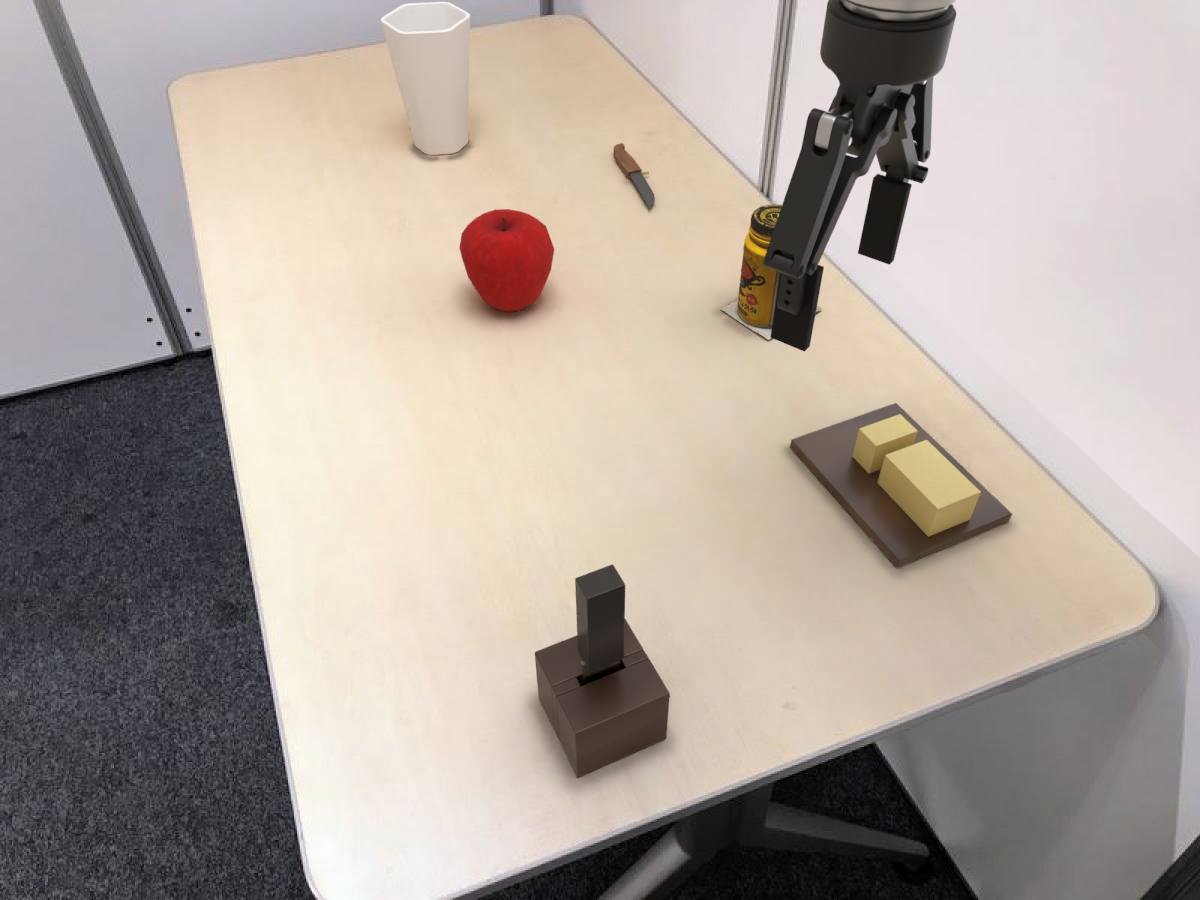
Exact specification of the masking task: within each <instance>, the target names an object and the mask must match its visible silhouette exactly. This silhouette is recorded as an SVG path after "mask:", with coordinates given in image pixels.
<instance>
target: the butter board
mask: <svg viewBox="0 0 1200 900" xmlns="http://www.w3.org/2000/svg"><path fill="white" fill-rule="evenodd" d="M899 414H901V415H902V416H903V417H904V418H905V419H906V420H907V421H908V422H909V423H910V424H911V425H912V426H913V427H914V428H915V429H916V430H917V431H918V432H917V435H916V438H915V441H914V444H916V443H919V442H922V441H924V440H928V441H929V442H930V443H931V444H932V445H933V446H934V447H935V448H936V449H937V450H938V451H939V452H940V453H941V454H942V455H943V456H944V457H945V458H946V459H947V460H948V461H949V462H950V463H951V464H952V465H954V466H955V467H956V468H957V469H958V470H959V471H960V472H961V473H962V474H963V475H964V476H965V477H966V478H967V479H968V480H969V481H970V482H971V483H972V484H973V485H974V486H975V487H976V488H977V489H978V490H979V491H981V493H980V496H979V498H978V501H977V503H976V506H975V508H974V511H973V514H972V516H971V519H970V520H968V521H966V522H963V523H961V524H958V525H956V526H954V527H951V528H949V529H946V530H944V531H941V532H939V533H936V534H934V535H932V536H929V537H928V536H927V535H926V534H925V533H924V532H923V531H922V530H921V529H920V528H919V527H918V526H917V524H916V523H915V522H914V521H913V520H912V519H911V518H910V517H909V516H908V515H907V514H906V513H905V512H904V511H903V510H902V509H901V507H900V506H899V505H898V504H897V503H896V502H895V501H894V500H893V499H892V498H891V497H890V496H889V495H888V494H887V493H886V492H885V490H884V489H883V488H882V487H881V486H880V485H879V484H878V483H877V482H878V479H879V475H880V472H881V470H878V471H875V472H873V473H870V474H868V473H867V471H866V470H865V469H864V468H863V467H862V466H861V465H860V464H859V463H858V462H857V461H856V460H855V459H854V458H853V452H854V448H855V444H856V440H857V436H858V432H859V429H860V428H862V427H865V426H868V425H871V424H874V423H876V422H879V421H882V420H885V419H888V418H890V417H893V416H896V415H899ZM789 447H790V449H791V450H792V451H793V452H794V453H795V454H796V456H797V457H798V458H799V459H800V460H801V461H802V462H803V463H804V465H805V466H806V467H807V468H808V469H809V470H810V471H811V473H813V475H814V476H815V477H816V478H817V479H818V481H820V483H821V484H822V485H823V486H824V487H825V489H826V490H828V492H829V493H830V494H831V495H832V496H833V497H834V499H835V500H836V501H837V502H838V503H839V504H840V505H841V506H842V508H843V509H844V511H846V512H847V513H848V514H849V516H850V517H851V518H852V519H853V520H854V521H855V523H856V524H858V526H859V527H860V528H861V529H862V530H863V531H864V532H865V534H866V535H867V536H868V537H869V538H870V539H871V540H872V541H873V543H874V544H875V545H876V546H877V548H879V549H880V550H881V552H882V553H883V554H884V555H885V556H886V557H887V558H888V560H889V561H890V562H891V563H892V564H893V565H894V567H895V568H900V567H902V566H905V565H907V564H910V563H913V562H915V561H917V560H919V559H922V558H924V557H927V556H929V555H931V554H933V553H936V552H938V551H941V550H943V549H945V548H948V547H951V546H952V545H955V544H957V543H960V542H963V541H965V540H967V539H970V538H973V537H975V536H977V535H979V534H981V533H985V532H987V531H989V530H991V529H994V528H996V527H998V526H1001V525H1004V524H1006V523H1008V522H1010V520H1011V517H1012V516H1013V513H1012V511H1010V510H1009V509H1008V508H1007V507H1006V506H1005V505H1004V504H1003V503H1002V502H1001V501H999V500H998V498H997V497H995V496H994V495H993V494H992V493H991V492H990V491H989V490H988V489H987V488H986V487H985V486H984V485H983V484H982V483H981V482H980V481H978V479H976V478H975V477H974V476H973V475H972V474H971V472H969V471H968V470H967V469H966V468H965V467H964V466H963V465H962V464H961V463H960V462H959V461H958V460H956V459H955V457H953V456H952V455H951V453H949V452H948V450H946V449H945V448H944V447H943V446H942V445H941V444H940V443H938V441H936V440H935V439H934V437H932V436H931V435H930V433H928V432H927V430H925V429H924V427H922V426H921V425H920V424H919V423H918V422H917V421H916V420H915V419H914V418H913V417H912V416H911V415H910V414H908V413H907V412H906V411H905V410H904V409H903V408H902V407H901V406H900V405H899V404H898V403H897V402H894V403H891V404H889V405H886V406H883V407H880V408H877V409H874V410H872V411H869V412H866V413H863V414H860V415H857V416H854V417H852V418H849V419H846V420H843V421H840V422H838V423H835V424H832V425H829V426H827V427H826V426H825V427H823V428H821V429H818V430H815V431H812V432H809V433H805V434H804V435H801V436H799V437H798V436H797V437H795V438H793V439H792V438H791V440H790V446H789Z"/></svg>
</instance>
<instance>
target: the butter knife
mask: <svg viewBox="0 0 1200 900" xmlns="http://www.w3.org/2000/svg"><path fill="white" fill-rule="evenodd" d="M574 583H575V584H574V585H575V609H576V612H575V613H576V636H577V641H578V654H579V655H580V657H581V659H582V661H581V674H582V686H583V685H586V684H588V683H591V682H593V681H596V680H598V679H600V678H603V677H605V676H608V675H610V674H613V673H615V672H617V671H620V660H621V659H624V626H625V619H626V583H625V582H624V580H623V579H622V577H621V575H620V573H619V572H618V570H617V568H616V567H615V566H614V563H613V564H610V565H607V566H604V567H601V568H599V569H596V570H594V571H591V572H588V573H586V574H583V575H580V576H578V577H575V578H574Z"/></svg>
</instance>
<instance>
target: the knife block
mask: <svg viewBox="0 0 1200 900" xmlns="http://www.w3.org/2000/svg"><path fill="white" fill-rule="evenodd" d="M534 660H535V671H536V672H535V673H536V683H537V693H538V700H539V702H540V704H541V706H542V708H543V710H544V712H545V714H546V716H547V719H548V720H549V723H550V724H551V727H552V728H553V731H554V733H555V735H556V737H557V739H558V741H559V744H560V745H561V748H562V750H563V752H564V754H565V755H566V758H567V760H568V762H569V764H570V766H571V768H572V770H573V772H574V775H575V777H576V778H580V777H583V776H585V775H587V774H589V773H592V772H593V771H596V770H598V769H600V768H602V767H603V768H604V767H606V766H607V765H610V764H612V763H614V762H616V761H619V760H621V759H623V758H625V757H628V756H630V755H632V754H634V753H636V752H639V751H641V750H645V749H646V748H648V747H650V746H653V745H655V744H657V743H659V742H662V741H664V740H666V739H667V734H668V720H669V710H670V709H669V708H670V697H671V693H670V691H669V689H668V688H667V686H666V684H665V683H664V681H663V679H662V677H661V676H660V673H659V672H658V671H657V669H656V668H655V665H654V664H653V663H652V661H651V659H650V658H649V656H648V654H647V653H646V651H645V650H644V648H643V646H642V644H641V643H640V641H639V639H638V638H637V635H636V634H635V633H634V631H633V629H632V627H631V625H630V624H629V622H628V620H627V619H626V618H625V626H624V659H621V660H620V671H617V672H615V673H613V674H610V675H608V676H605V677H603V678H600V679H598V680H596V681H593V682H591V683H588V684H586V685H583V686H582V674H581V661H582V659H581V657H580V655H579V654H578V641H577V635H574V636H572V637H569V638H567V639H565V640H561V641H558V642H556V643H554V644H551V645H548V646H545V647H544V648H541V649H539V650H536V651H535V652H534Z"/></svg>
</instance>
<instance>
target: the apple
mask: <svg viewBox="0 0 1200 900" xmlns="http://www.w3.org/2000/svg"><path fill="white" fill-rule="evenodd" d="M459 251H460V256H461V259H462V262H463V263H462V264H463V266H464V269H465V272H466V275H467V278H468V280H469V281H470V283H471V284H472V286H473V288H474V289H475V291H476V293H477V294H478V296H479V297H480V298H481V299H482V301H483V302H484V303H485V304H487V305H489V306H491V307H493V308H495V309H497V310H499V311H501V312H502V311H503V312H507V313H512V312H518V311H520V310H523V309H524V308H526V307H528V306H531V305H532V304H534V303H535V302H536V301H538V300H539V299H540V298H541V295H542V293H543V291H544V289H545V286H546V284H547V281H548V279H549V276H550V273H551V271H552V266H553V262H554V261H553V260H554V255H555V247H554V244H553V242H552V239H551V236H550V233H549V230H548V228H547V225H546V224H544V223H543V222H542V221H541V220H540V219H538V218H536V217H535V216H533V215H532V214H529V213H527V212H524V211H521V210H515V209H510V208H503V209H502V208H501V209H500V208H499V209H494V210H490V211H486V212H484V213H482V214H480V215H479V216H477V217H474V219H473V220H471V221H470V222H469V223H468V224H467V225H466V227H465V228H464V230H463V231H462V232H461V236H460V242H459Z"/></svg>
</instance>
